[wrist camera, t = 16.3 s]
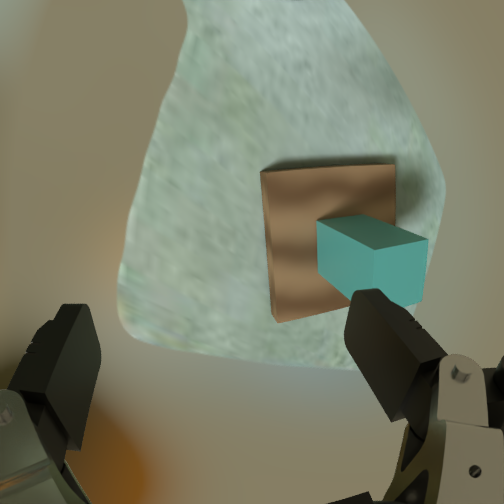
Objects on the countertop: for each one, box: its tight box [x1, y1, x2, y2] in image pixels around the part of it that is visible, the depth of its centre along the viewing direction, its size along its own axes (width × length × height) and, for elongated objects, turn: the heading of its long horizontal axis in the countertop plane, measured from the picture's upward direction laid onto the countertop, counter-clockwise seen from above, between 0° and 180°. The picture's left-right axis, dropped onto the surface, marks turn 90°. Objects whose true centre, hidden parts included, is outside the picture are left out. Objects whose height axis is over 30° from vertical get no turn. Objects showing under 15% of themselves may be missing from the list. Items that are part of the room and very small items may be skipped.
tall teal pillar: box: [316, 214, 428, 307], centre depth 30 cm, size 6×6×11 cm
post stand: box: [260, 163, 396, 323], centre depth 32 cm, size 17×16×12 cm
